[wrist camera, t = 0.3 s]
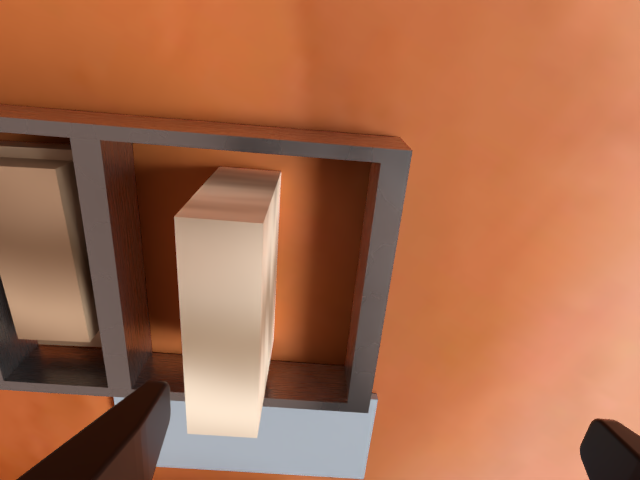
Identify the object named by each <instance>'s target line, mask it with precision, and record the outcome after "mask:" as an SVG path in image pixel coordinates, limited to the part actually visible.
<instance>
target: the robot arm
mask: <svg viewBox="0 0 640 480" xmlns="http://www.w3.org/2000/svg"><path fill="white" fill-rule="evenodd" d="M170 416H171V404H170V386H169V383H167V382H165V381H154V380H150V381H147V382H145V383H144V384H143V385H141V386H140V387H139V388H137V389H136V390H135V391H133V392H132V393H131V394H129V395H128V396H127V397H125V398H124V399H123V400H121V401H120V402H119V403H117V404H116V405H115V406H113V407H112V408H111V409H109V410H108V411H107V412H105V413H104V414H103V415H101V416H100V417H99V418H97V419H96V420H95V421H93V422H92V423H91V424H89V425H88V426H87V427H85V428H84V429H83V430H82V431H80V432H79V433H78V434H76V435H75V436H74V437H72V438H71V439H70V440H68V441H67V442H66V443H64V444H63V445H62V446H60V447H59V448H58V449H56V450H55V451H54V452H52V453H51V454H50V455H48V456H47V457H46V458H44V459H43V460H42V461H40V462H39V463H38V464H36V465H35V466H34V467H32V468H31V469H30V470H28V471H27V472H26V473H24V474H23V475H22V476H20V477H19V478H18V479H16V480H152V478H153V474H154V471H155V468H156V465H157V461H158V458H159V455H160V452H161V448H162V445H163V442H164V439H165V435H166V432H167V429H168V426H169V422H170ZM580 455H581V459H582V462H583V464H584V467H585V469H586V472H587V475H588V477H589V480H640V436H639V435H637V434H636V433H634V432H633V431H631V430H630V429H628V428H627V427H625V426H624V425H622V424H621V423H619V422H618V421H615V420H610V419H594V420H593V421H592V422H591V424H590V426H589V428H588V430H587V432H586V435H585V437H584V439H583V441H582V443H581V446H580Z"/></svg>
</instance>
